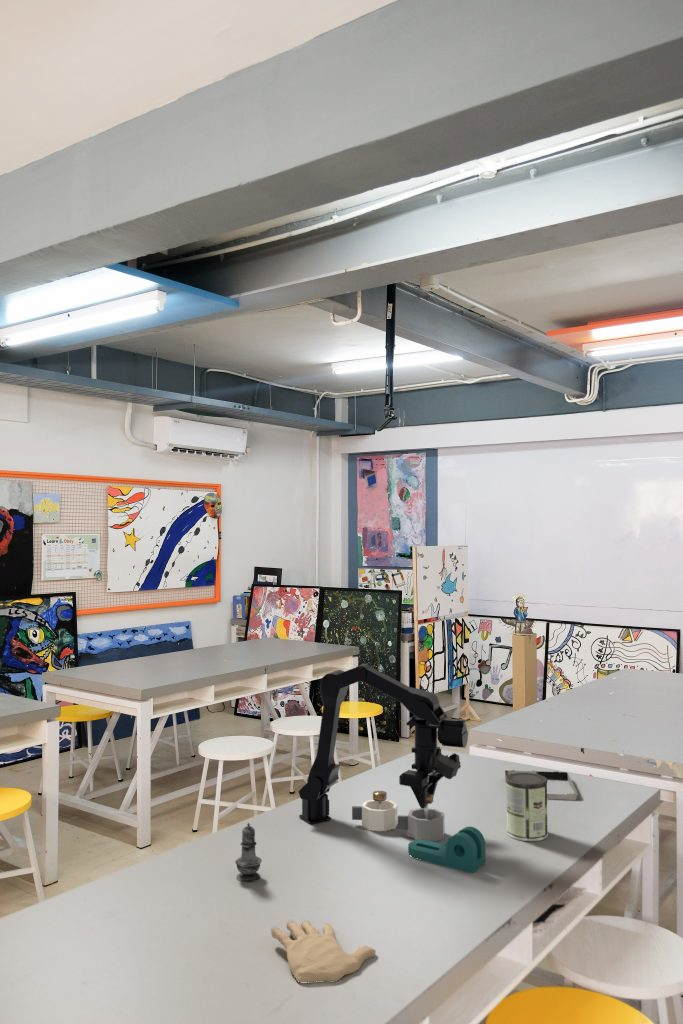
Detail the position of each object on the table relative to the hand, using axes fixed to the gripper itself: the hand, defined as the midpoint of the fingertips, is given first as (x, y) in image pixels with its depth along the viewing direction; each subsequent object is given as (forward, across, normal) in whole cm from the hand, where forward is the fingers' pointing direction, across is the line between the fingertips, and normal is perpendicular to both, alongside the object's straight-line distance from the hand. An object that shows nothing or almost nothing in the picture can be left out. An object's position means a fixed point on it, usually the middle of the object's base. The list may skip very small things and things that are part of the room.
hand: (426, 805), depth 209 cm
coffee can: (+8, +14, -22) cm, 27 cm away
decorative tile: (+8, +52, -13) cm, 54 cm away
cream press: (+7, 0, +13) cm, 15 cm away
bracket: (+8, -12, -10) cm, 17 cm away
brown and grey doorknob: (+7, 0, +13) cm, 15 cm away
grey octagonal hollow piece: (+7, 0, 0) cm, 7 cm away
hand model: (+8, -62, -9) cm, 63 cm away
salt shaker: (+8, -43, +23) cm, 50 cm away
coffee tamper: (+5, 0, 0) cm, 5 cm away
